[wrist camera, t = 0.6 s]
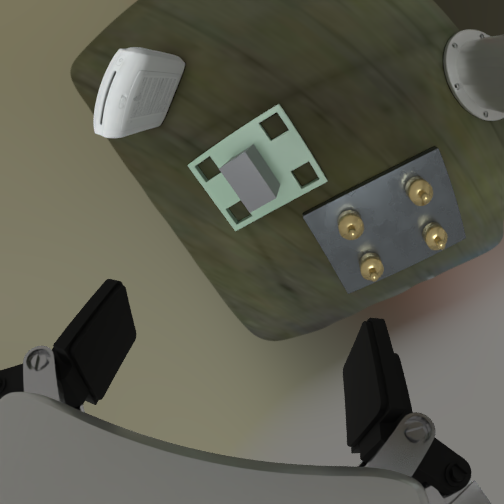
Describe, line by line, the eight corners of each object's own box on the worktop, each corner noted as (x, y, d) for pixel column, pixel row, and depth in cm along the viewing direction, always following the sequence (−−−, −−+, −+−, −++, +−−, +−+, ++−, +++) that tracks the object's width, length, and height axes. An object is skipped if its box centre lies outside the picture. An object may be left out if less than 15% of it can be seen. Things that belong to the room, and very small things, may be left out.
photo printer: (163, 50, 29) (105, 41, 19) (191, 59, 30) (140, 49, 19) (137, 119, 35) (78, 136, 24) (163, 129, 35) (108, 149, 25)
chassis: (434, 146, 30) (451, 154, 25) (462, 234, 34) (476, 251, 30) (302, 212, 38) (301, 229, 34) (347, 288, 43) (350, 310, 38)
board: (279, 103, 31) (274, 105, 26) (327, 179, 35) (330, 194, 30) (190, 163, 37) (171, 176, 32) (237, 227, 41) (226, 249, 36)
